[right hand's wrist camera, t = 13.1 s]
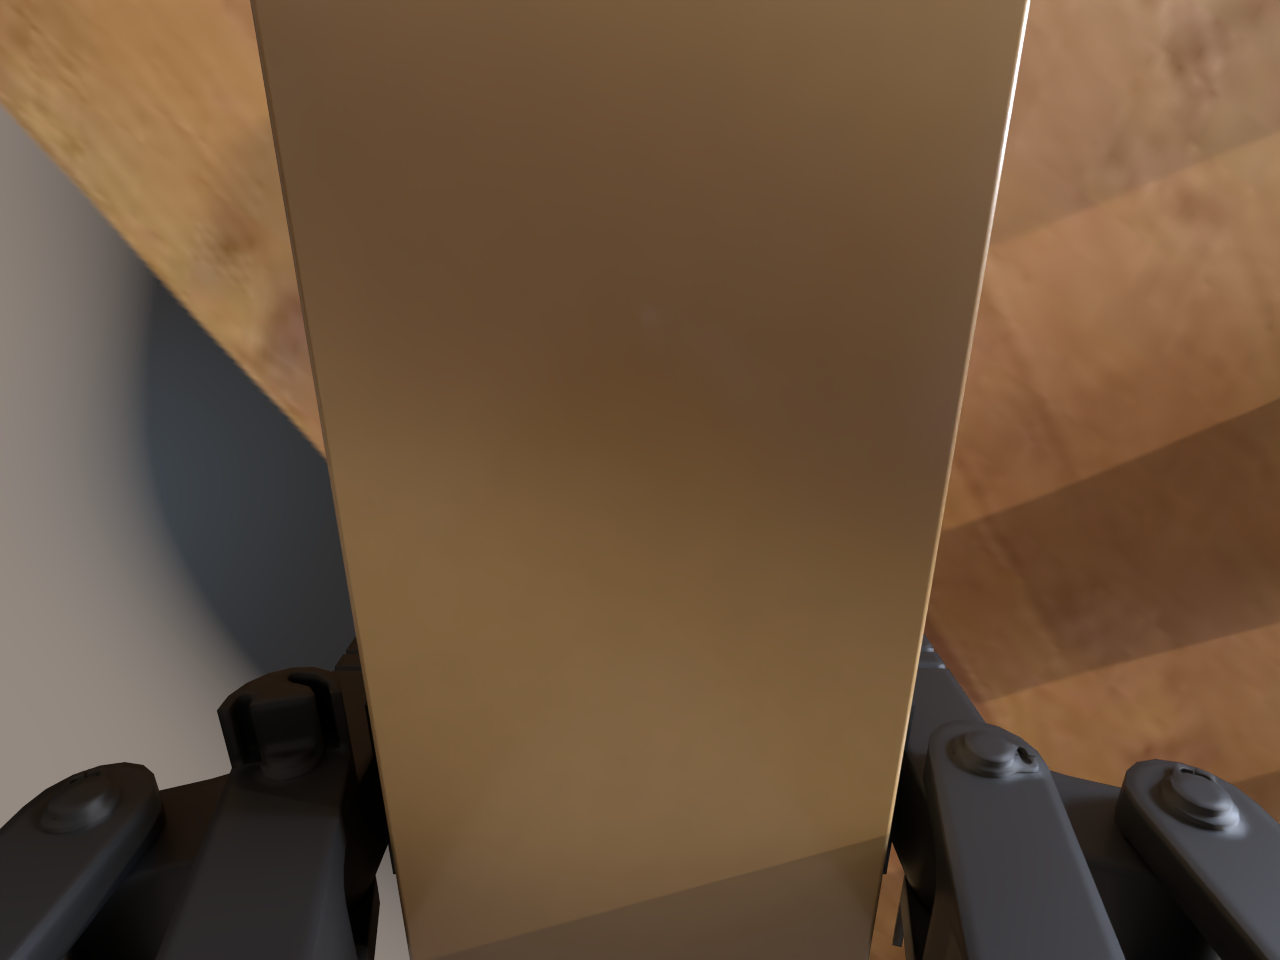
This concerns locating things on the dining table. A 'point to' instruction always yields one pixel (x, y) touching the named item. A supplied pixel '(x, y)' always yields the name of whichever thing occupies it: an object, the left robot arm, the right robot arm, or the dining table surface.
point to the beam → (639, 438)
